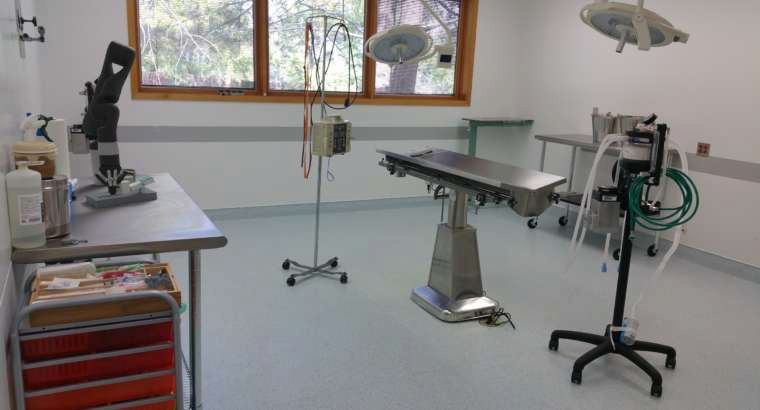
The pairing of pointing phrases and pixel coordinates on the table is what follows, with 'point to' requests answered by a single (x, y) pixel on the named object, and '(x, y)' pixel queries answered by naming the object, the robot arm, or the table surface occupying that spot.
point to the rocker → (141, 183)
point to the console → (120, 197)
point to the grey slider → (129, 179)
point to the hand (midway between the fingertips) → (112, 194)
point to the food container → (129, 173)
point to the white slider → (124, 187)
